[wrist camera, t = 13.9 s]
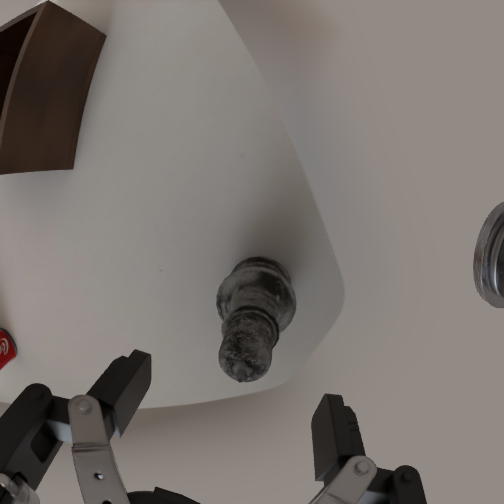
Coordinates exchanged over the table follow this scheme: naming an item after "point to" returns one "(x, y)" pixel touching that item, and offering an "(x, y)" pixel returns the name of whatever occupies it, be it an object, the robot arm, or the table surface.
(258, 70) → the table surface
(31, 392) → the robot arm
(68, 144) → the brown wooden box
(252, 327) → the chess piece
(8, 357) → the beverage can
